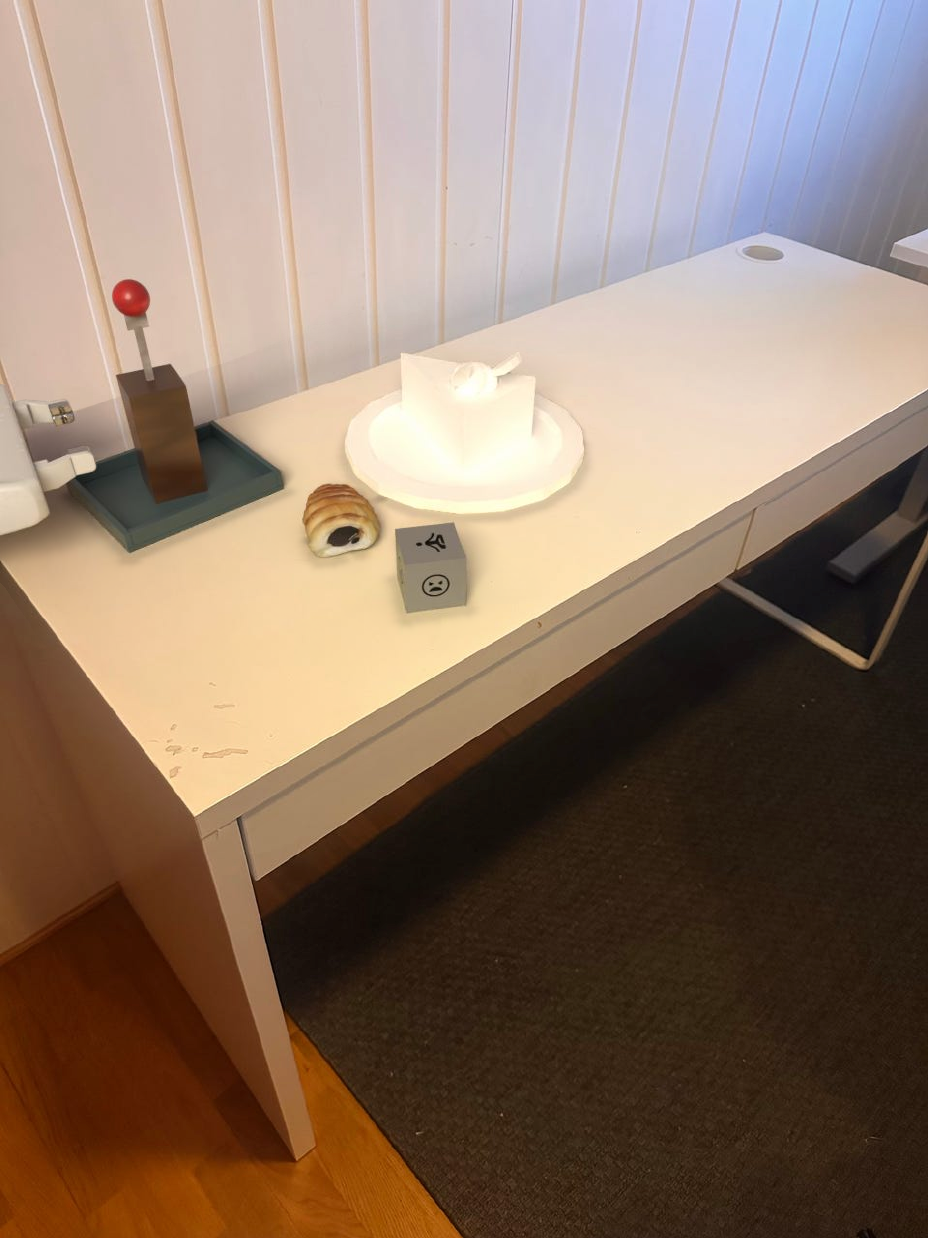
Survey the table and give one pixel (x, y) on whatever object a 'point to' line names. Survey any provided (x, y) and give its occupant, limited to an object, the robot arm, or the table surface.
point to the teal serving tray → (140, 521)
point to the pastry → (339, 520)
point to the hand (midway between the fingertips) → (82, 432)
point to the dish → (464, 439)
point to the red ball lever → (157, 410)
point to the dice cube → (431, 567)
